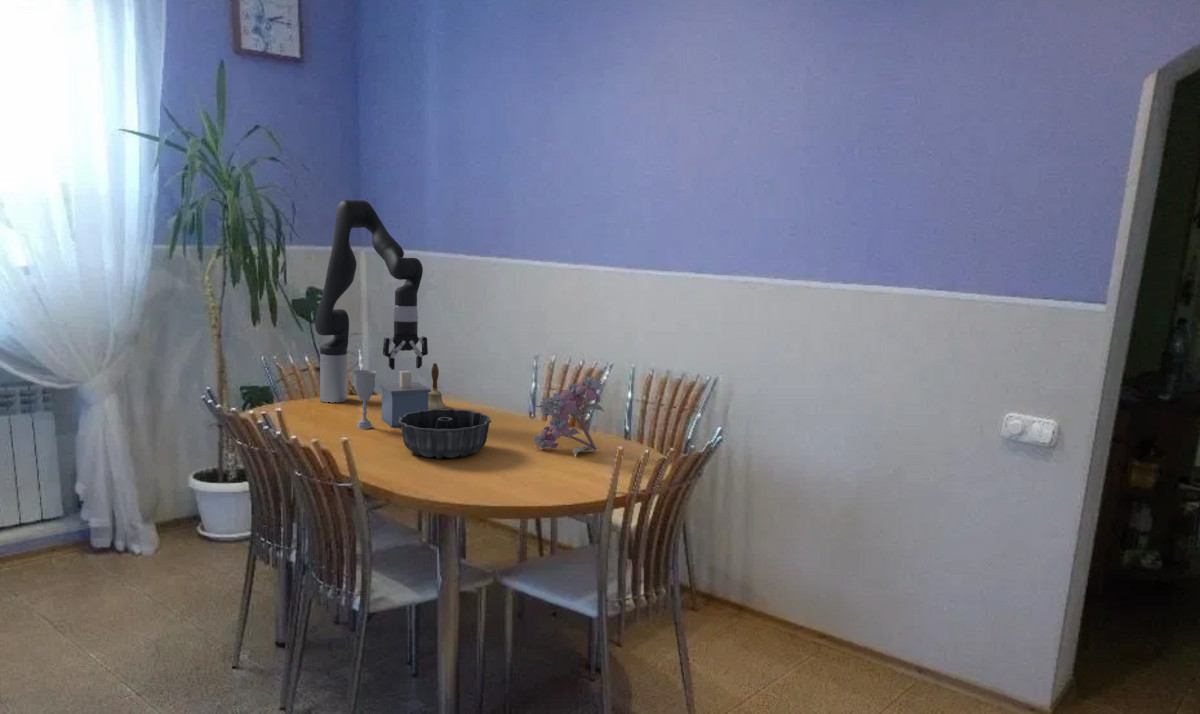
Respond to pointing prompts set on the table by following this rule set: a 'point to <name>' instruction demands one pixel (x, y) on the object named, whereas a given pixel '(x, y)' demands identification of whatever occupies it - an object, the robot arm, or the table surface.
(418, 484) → the table surface
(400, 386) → the lid
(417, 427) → the bundt pan
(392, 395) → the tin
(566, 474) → the table surface
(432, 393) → the hand bell
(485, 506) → the table surface
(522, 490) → the table surface
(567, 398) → the flower
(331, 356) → the robot arm
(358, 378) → the chalice
